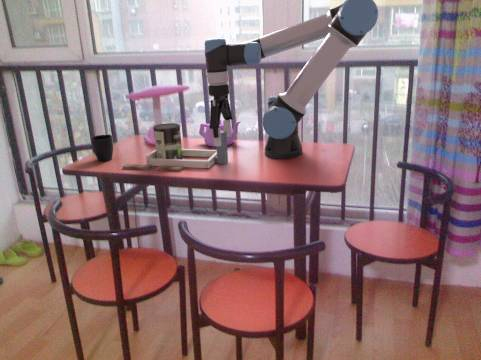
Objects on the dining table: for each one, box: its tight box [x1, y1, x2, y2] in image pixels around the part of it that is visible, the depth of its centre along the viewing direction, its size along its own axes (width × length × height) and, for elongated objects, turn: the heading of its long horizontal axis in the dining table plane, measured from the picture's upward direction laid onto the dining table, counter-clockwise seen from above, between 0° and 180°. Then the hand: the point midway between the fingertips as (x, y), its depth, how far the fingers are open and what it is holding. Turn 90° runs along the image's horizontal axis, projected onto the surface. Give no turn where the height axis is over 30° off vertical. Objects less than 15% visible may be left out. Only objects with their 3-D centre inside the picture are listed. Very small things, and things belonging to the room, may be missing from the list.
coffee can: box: [152, 122, 184, 160], centre depth 164 cm, size 10×10×14 cm
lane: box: [145, 130, 229, 169], centre depth 162 cm, size 30×15×12 cm, turn 75°
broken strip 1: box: [122, 163, 154, 171], centre depth 159 cm, size 11×3×1 cm, turn 75°
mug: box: [90, 133, 114, 163], centre depth 172 cm, size 8×12×10 cm
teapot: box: [198, 118, 241, 148], centre depth 186 cm, size 13×20×11 cm
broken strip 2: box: [157, 165, 185, 172], centre depth 156 cm, size 9×3×1 cm, turn 75°
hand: (223, 141), depth 158 cm, fingers open, 13 cm apart
